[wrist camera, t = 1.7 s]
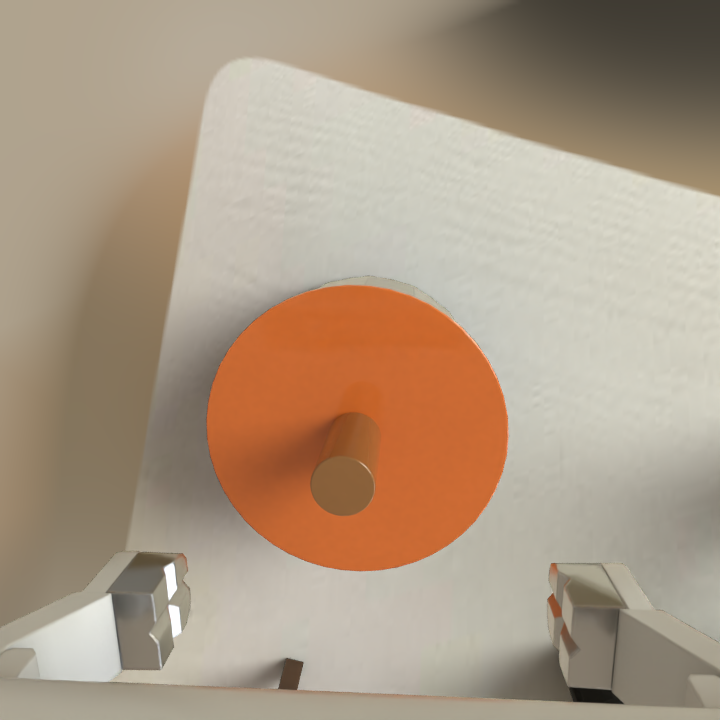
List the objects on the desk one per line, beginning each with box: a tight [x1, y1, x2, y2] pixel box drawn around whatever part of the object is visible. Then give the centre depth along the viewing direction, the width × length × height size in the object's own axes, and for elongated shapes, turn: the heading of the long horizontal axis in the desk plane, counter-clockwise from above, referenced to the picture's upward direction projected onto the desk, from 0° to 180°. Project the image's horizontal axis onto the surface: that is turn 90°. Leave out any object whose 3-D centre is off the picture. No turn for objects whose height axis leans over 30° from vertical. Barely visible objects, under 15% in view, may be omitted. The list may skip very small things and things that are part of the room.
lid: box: [206, 284, 509, 571], centre depth 24 cm, size 14×14×6 cm
